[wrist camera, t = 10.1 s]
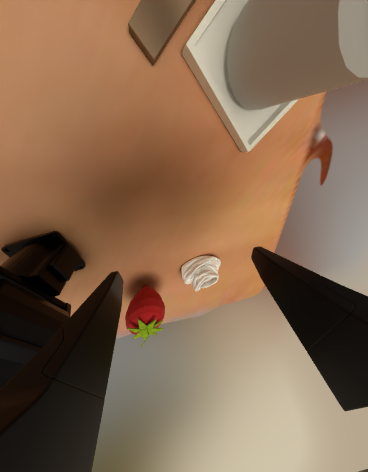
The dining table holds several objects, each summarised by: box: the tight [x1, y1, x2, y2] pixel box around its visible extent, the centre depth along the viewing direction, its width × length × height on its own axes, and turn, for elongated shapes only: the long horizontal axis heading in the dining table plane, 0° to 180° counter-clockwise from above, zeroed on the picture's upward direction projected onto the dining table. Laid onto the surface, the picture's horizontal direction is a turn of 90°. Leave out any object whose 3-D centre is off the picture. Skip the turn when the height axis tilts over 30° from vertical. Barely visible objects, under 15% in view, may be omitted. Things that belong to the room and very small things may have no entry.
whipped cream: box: [181, 256, 221, 291], centre depth 27 cm, size 8×7×5 cm
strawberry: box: [125, 285, 165, 347], centre depth 23 cm, size 6×8×10 cm
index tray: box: [182, 0, 298, 152], centre depth 14 cm, size 11×11×2 cm
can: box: [227, 0, 368, 110], centre depth 9 cm, size 8×8×12 cm
